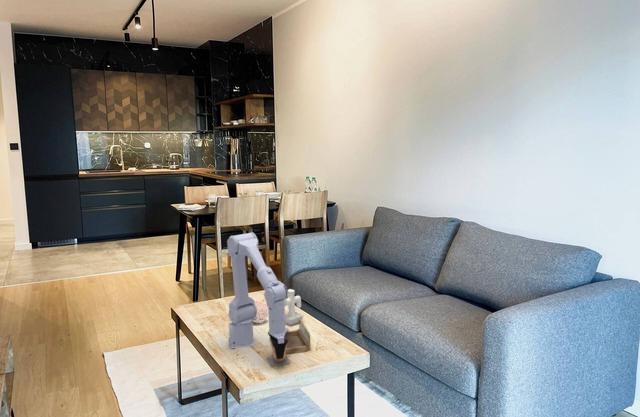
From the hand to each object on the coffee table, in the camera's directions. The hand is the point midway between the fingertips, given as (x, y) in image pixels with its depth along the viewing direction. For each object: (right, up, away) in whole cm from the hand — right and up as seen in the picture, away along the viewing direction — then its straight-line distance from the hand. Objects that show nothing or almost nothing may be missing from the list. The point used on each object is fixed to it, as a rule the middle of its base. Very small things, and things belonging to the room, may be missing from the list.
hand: (278, 354), depth 175 cm
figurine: (+3, +2, +36) cm, 37 cm away
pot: (0, -2, +1) cm, 2 cm away
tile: (0, -3, 0) cm, 3 cm away
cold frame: (+3, -1, +14) cm, 14 cm away
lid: (+9, 0, +15) cm, 18 cm away
